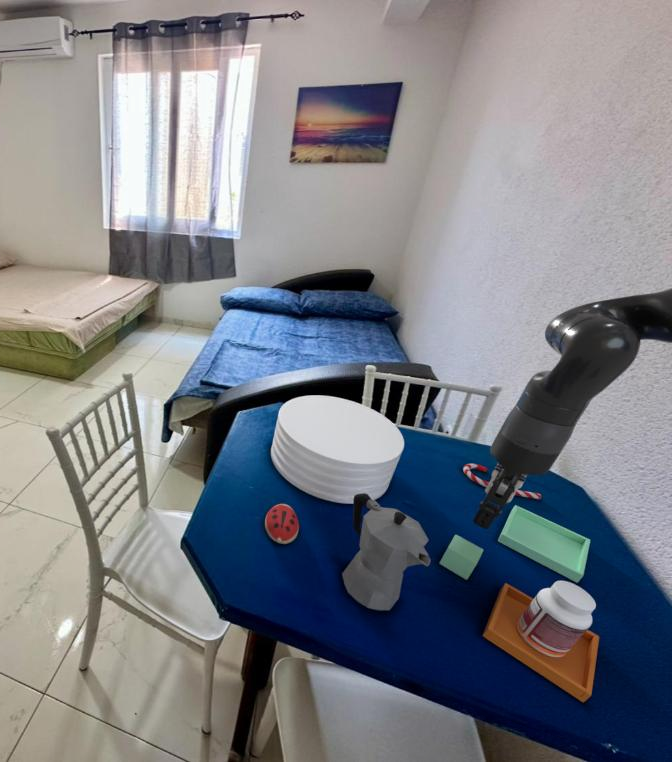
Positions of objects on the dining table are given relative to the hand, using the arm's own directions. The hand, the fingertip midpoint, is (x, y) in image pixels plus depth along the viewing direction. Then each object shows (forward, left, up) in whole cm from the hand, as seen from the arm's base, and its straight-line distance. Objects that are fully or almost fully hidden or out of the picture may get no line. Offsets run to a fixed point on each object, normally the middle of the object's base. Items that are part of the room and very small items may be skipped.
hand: (486, 512), depth 70 cm
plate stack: (+31, -9, -14) cm, 35 cm away
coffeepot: (+10, +17, -14) cm, 24 cm away
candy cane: (0, -34, -14) cm, 37 cm away
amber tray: (-13, +6, -14) cm, 20 cm away
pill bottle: (-13, +6, -13) cm, 20 cm away
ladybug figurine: (+27, +18, -14) cm, 35 cm away
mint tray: (-10, -19, -14) cm, 26 cm away
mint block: (0, 0, -14) cm, 14 cm away
